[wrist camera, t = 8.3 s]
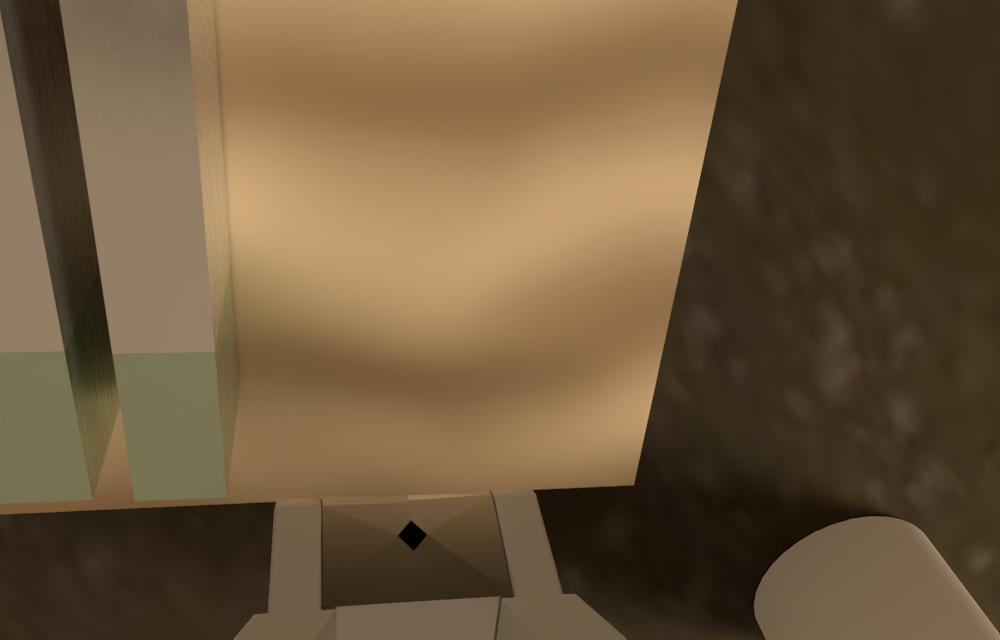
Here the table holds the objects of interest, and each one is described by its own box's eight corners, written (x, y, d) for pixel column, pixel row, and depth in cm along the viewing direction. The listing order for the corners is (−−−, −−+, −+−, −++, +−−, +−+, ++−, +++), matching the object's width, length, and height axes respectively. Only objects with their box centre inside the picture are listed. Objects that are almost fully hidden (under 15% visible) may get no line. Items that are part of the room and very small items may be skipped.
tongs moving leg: (-85, -638, 14) (-240, -776, 10) (173, -595, 15) (121, -708, 11) (90, 396, 24) (46, 523, 20) (239, 393, 25) (224, 515, 21)
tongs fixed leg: (-116, -345, 16) (-232, -364, 12) (12, -332, 16) (-68, -346, 13) (40, 395, 24) (-5, 504, 21) (124, 393, 24) (92, 500, 21)
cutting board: (-472, -939, 13) (-556, -1010, 12) (846, -677, 17) (889, -709, 15) (-54, 480, 27) (-73, 517, 25) (620, 453, 30) (633, 485, 29)
